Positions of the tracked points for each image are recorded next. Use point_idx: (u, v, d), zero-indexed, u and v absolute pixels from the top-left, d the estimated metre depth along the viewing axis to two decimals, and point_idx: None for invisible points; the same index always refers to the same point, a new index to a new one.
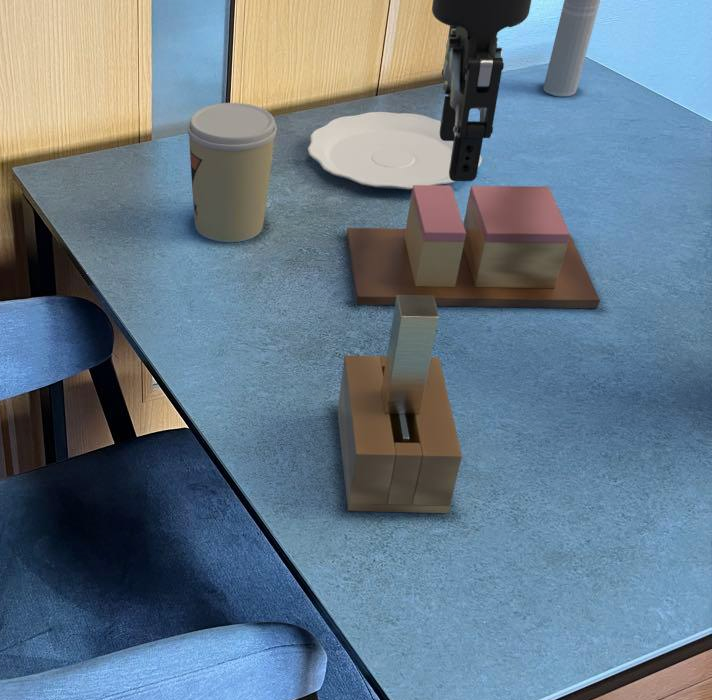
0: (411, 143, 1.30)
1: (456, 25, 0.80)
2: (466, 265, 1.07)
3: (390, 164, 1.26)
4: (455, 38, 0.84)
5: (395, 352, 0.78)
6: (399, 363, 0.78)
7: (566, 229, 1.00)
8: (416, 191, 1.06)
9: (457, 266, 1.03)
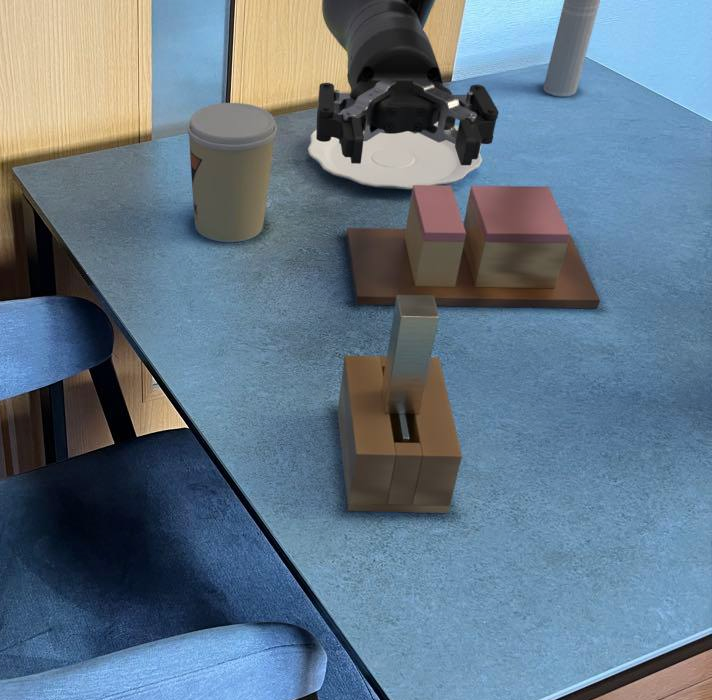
0: (411, 143, 1.30)
1: None
2: (466, 265, 1.07)
3: (390, 164, 1.26)
4: None
5: (395, 352, 0.78)
6: (399, 363, 0.78)
7: (566, 229, 1.00)
8: (416, 191, 1.06)
9: (457, 266, 1.03)
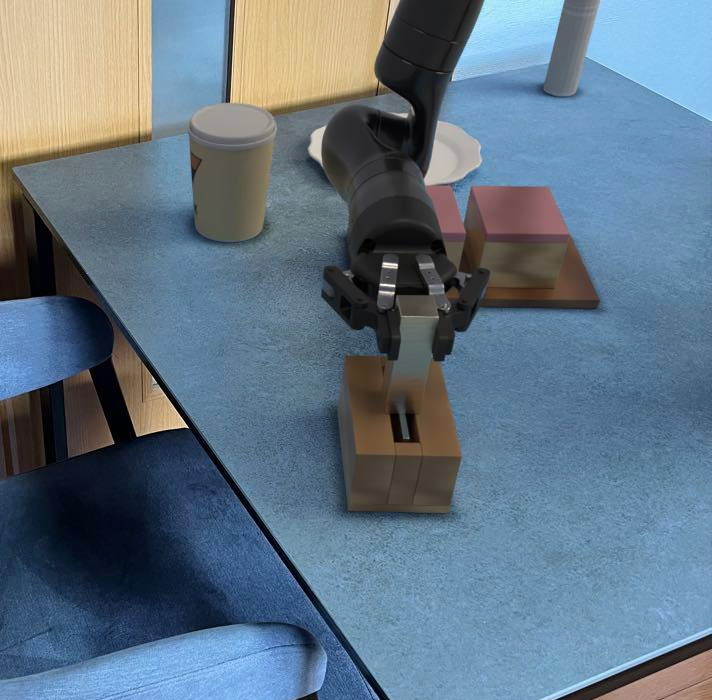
0: None
1: None
2: (466, 265, 1.07)
3: None
4: None
5: None
6: (399, 363, 0.78)
7: (566, 229, 1.00)
8: None
9: (457, 266, 1.03)
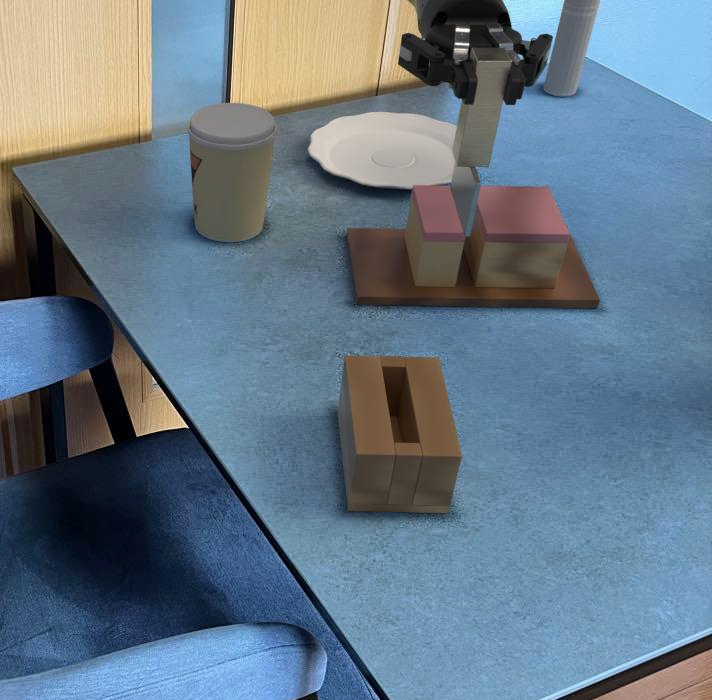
0: (411, 143, 1.30)
1: None
2: (466, 265, 1.07)
3: (390, 164, 1.26)
4: None
5: None
6: (473, 111, 0.87)
7: (566, 229, 1.00)
8: (416, 191, 1.06)
9: (457, 266, 1.03)
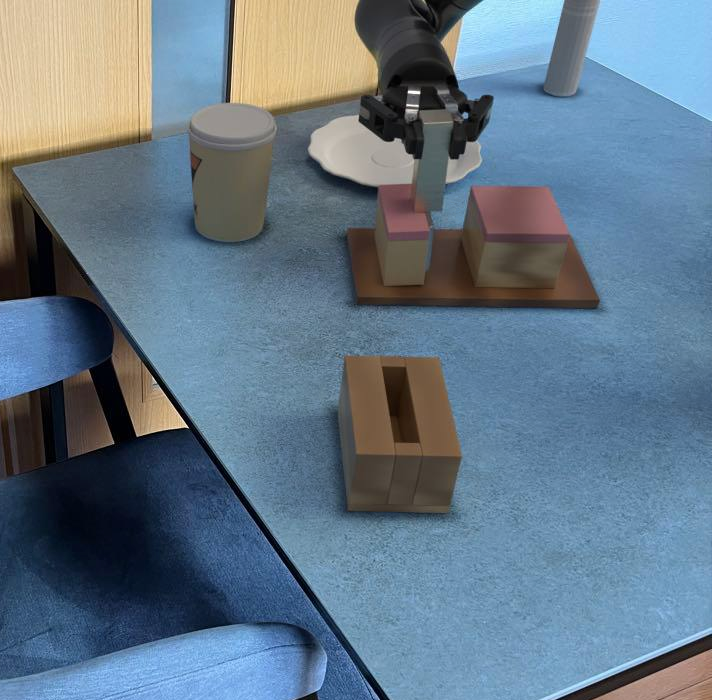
0: None
1: None
2: (466, 265, 1.07)
3: (390, 164, 1.26)
4: None
5: None
6: (423, 165, 0.99)
7: (566, 229, 1.00)
8: (381, 191, 1.06)
9: (424, 264, 1.03)
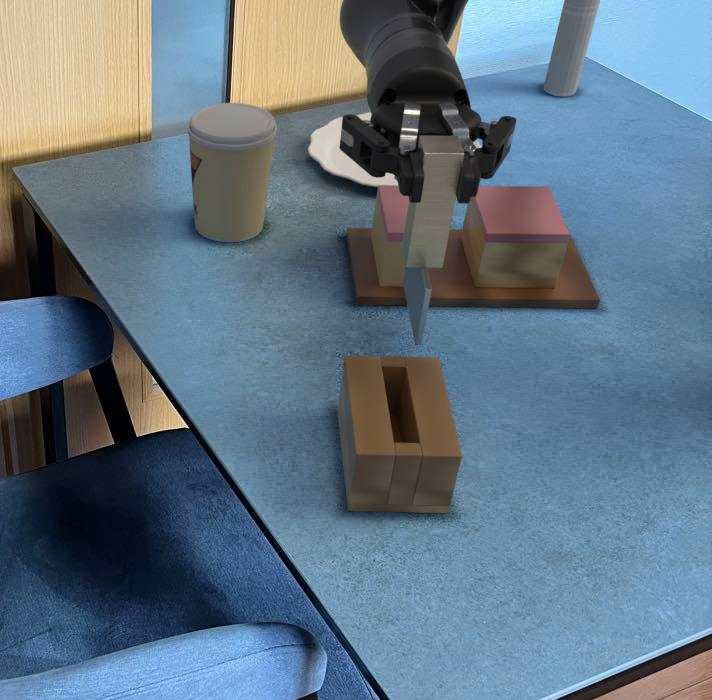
0: None
1: None
2: (466, 265, 1.07)
3: None
4: None
5: None
6: (421, 208, 0.75)
7: (566, 229, 1.00)
8: (381, 191, 1.06)
9: None
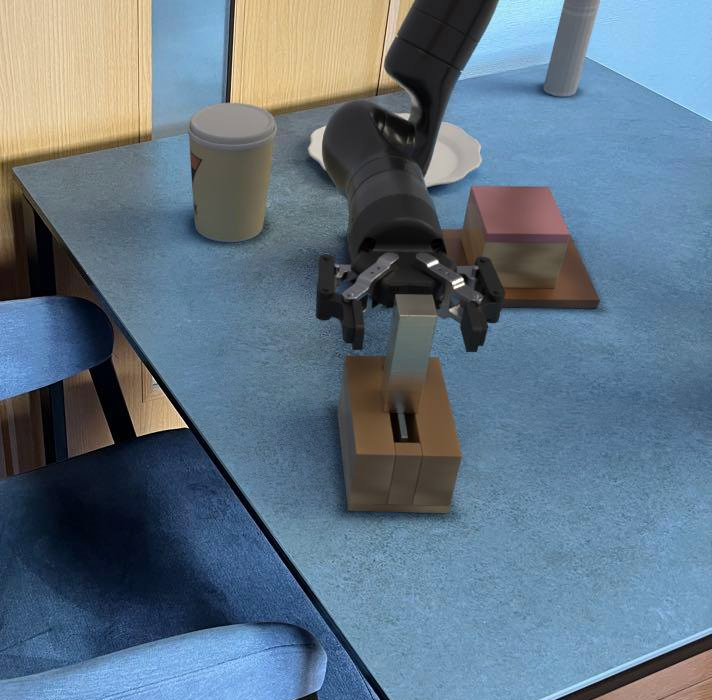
0: None
1: None
2: (466, 265, 1.07)
3: None
4: None
5: (394, 351, 0.78)
6: (397, 362, 0.78)
7: (566, 229, 1.00)
8: None
9: None
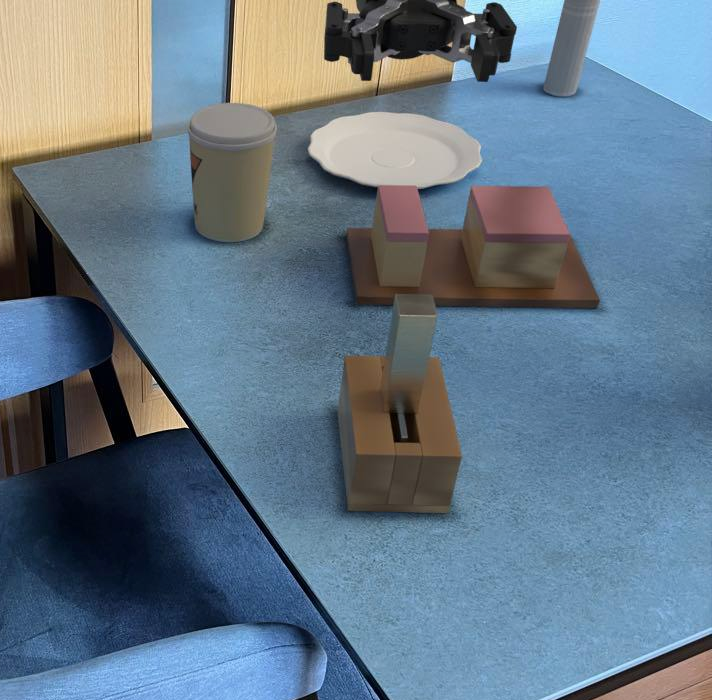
0: (411, 143, 1.30)
1: None
2: (466, 265, 1.07)
3: (390, 164, 1.26)
4: None
5: (394, 351, 0.78)
6: (397, 362, 0.78)
7: (566, 229, 1.00)
8: (381, 191, 1.06)
9: (421, 266, 1.03)
